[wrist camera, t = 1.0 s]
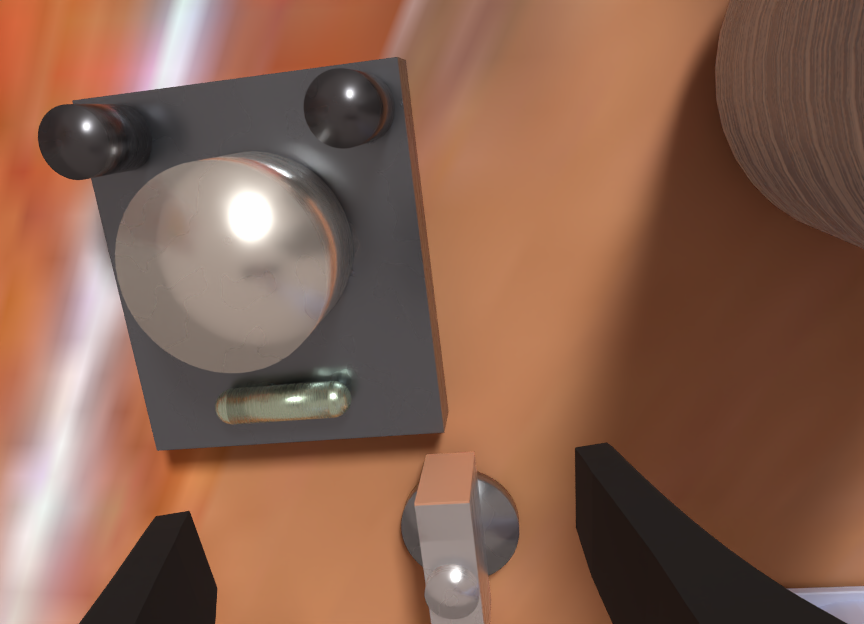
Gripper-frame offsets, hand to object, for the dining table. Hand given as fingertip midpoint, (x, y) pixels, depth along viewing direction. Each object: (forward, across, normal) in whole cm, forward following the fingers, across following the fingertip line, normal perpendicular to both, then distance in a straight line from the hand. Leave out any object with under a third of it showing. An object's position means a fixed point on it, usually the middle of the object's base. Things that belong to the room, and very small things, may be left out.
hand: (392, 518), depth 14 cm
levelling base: (+17, +4, +2) cm, 18 cm away
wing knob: (+13, -2, +13) cm, 19 cm away
